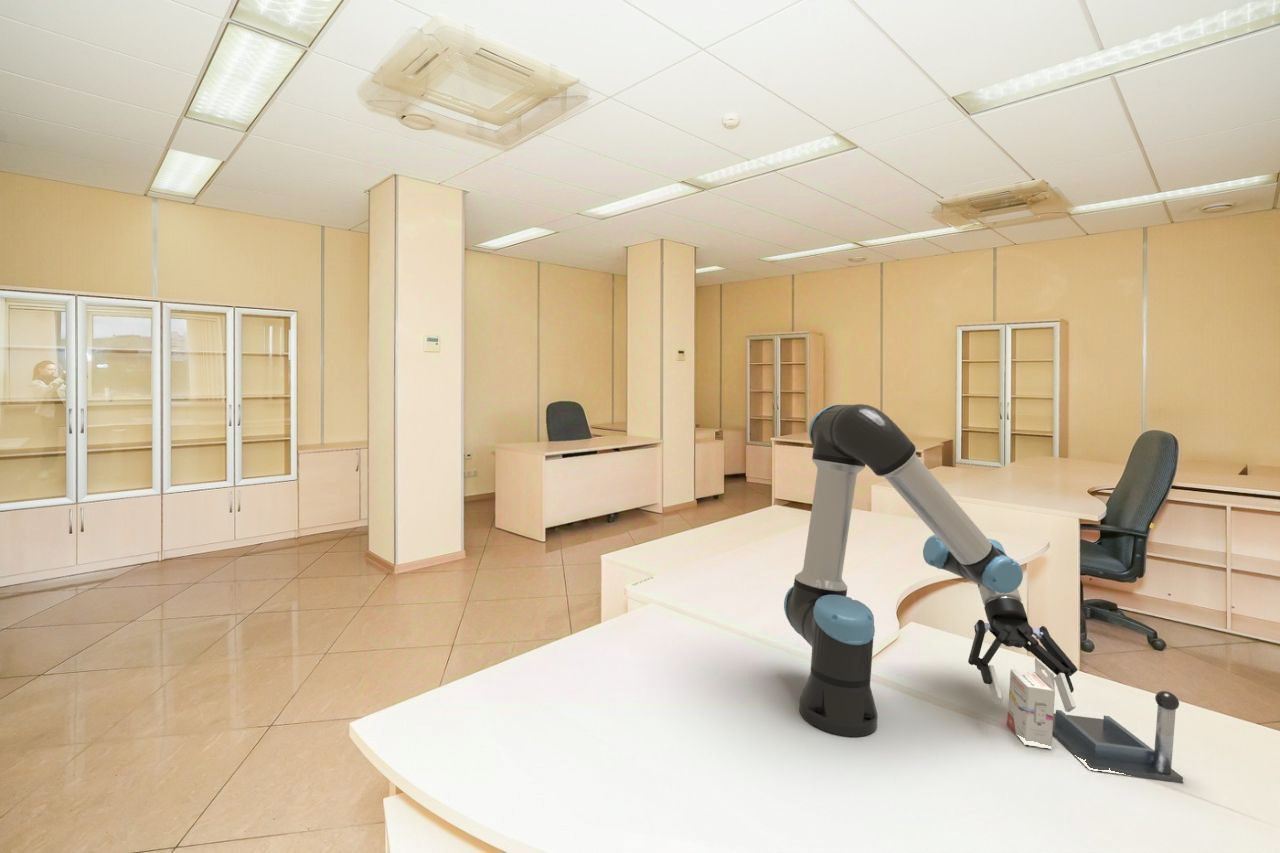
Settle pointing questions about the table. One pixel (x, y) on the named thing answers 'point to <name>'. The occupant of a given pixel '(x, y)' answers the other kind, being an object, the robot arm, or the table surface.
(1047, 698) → the ink cartridge box
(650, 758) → the table surface
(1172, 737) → the keeper bracket
